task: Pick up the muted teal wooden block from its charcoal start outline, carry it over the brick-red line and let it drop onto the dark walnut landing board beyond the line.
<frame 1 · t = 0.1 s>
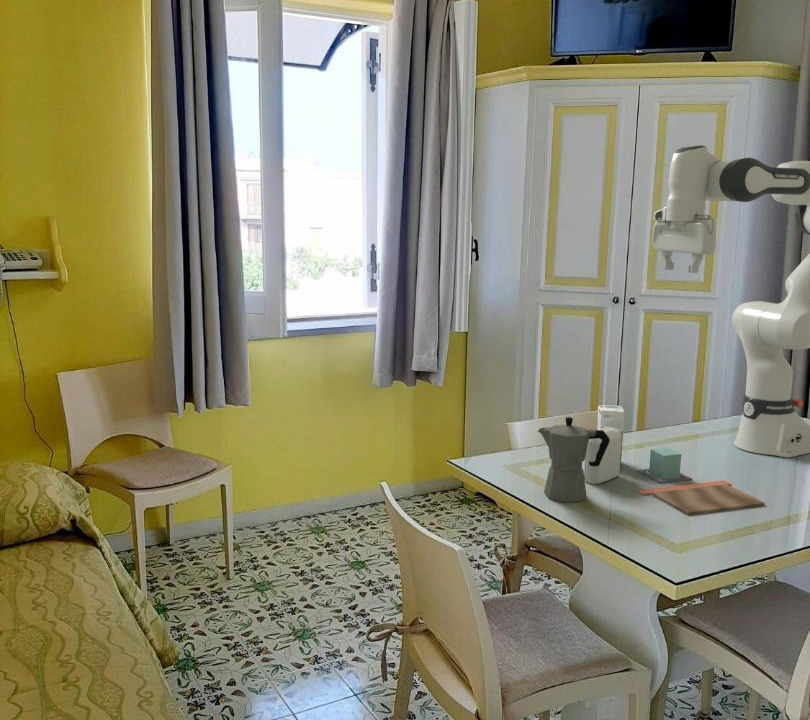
hand: (680, 271, 197), 48 cm above the table, tool pointing down, fingers open, 8 cm apart
coffeepot: (570, 496, 178), on the table
teal block: (664, 475, 192), on the table
throw line: (684, 488, 183), on the table
landing board: (707, 500, 176), on the table
photo printer: (601, 479, 189), on the table
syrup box: (607, 464, 201), on the table
start outline: (664, 475, 192), on the table
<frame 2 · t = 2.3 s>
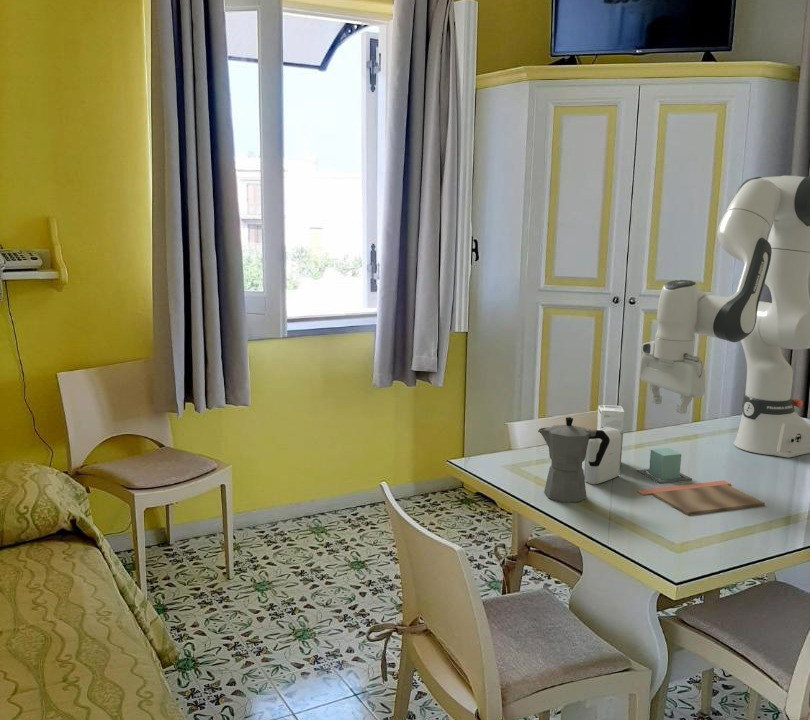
hand: (668, 408, 189), 17 cm above the table, tool pointing down, fingers open, 8 cm apart
nothing on the table moved.
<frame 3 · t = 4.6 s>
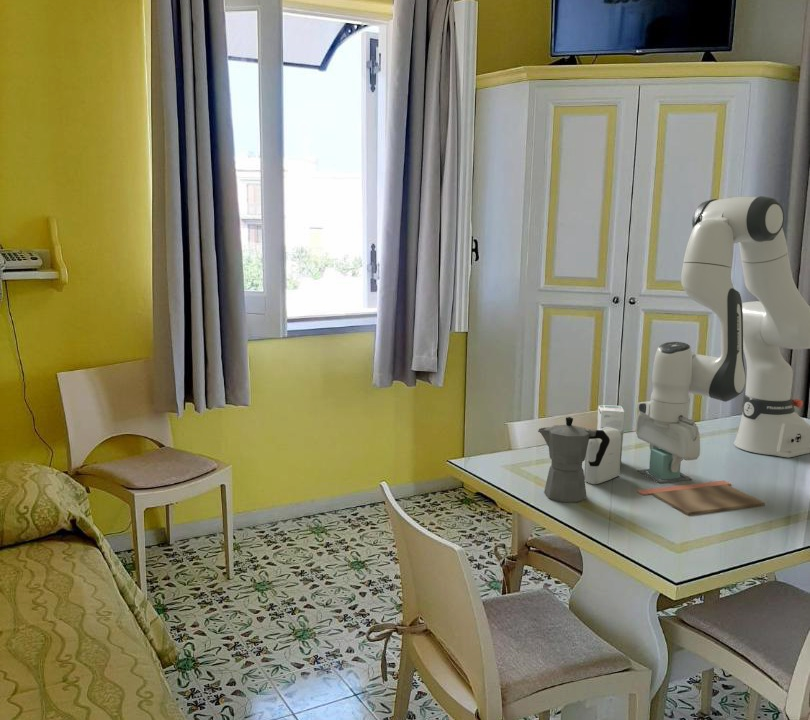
hand: (664, 467, 192), 2 cm above the table, tool pointing down, fingers closed on teal block, 5 cm apart
teal block: (664, 475, 192), on the table, touching gripper
everything else where it was.
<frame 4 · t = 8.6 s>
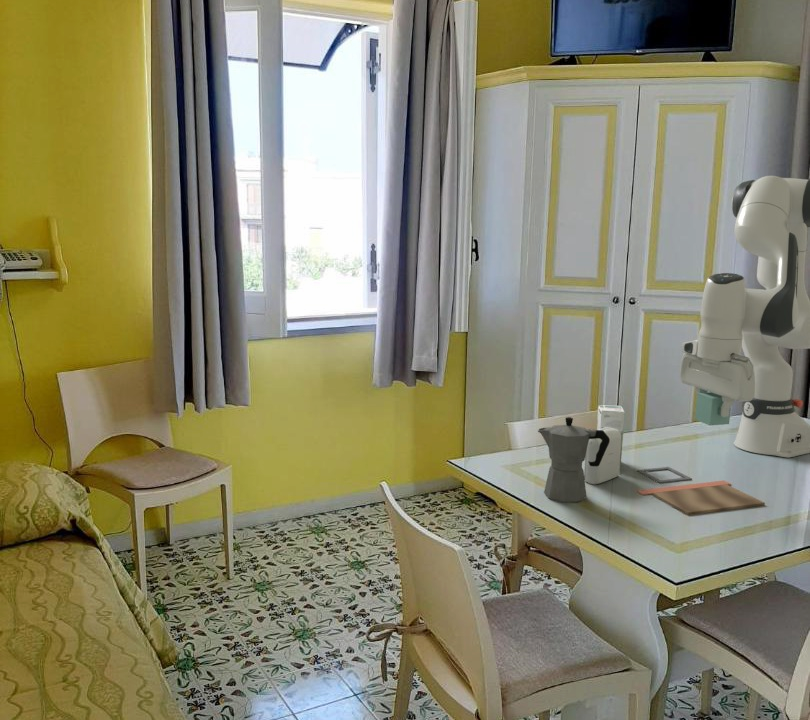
hand: (713, 412, 174), 20 cm above the table, tool pointing down, fingers closed on teal block, 5 cm apart
teal block: (711, 421, 174), point 17 cm above the table, touching gripper
everything else where it was.
when the fingers open (4 cm above the table, at t = 12.6 s): teal block drops 1 cm, resting on landing board.
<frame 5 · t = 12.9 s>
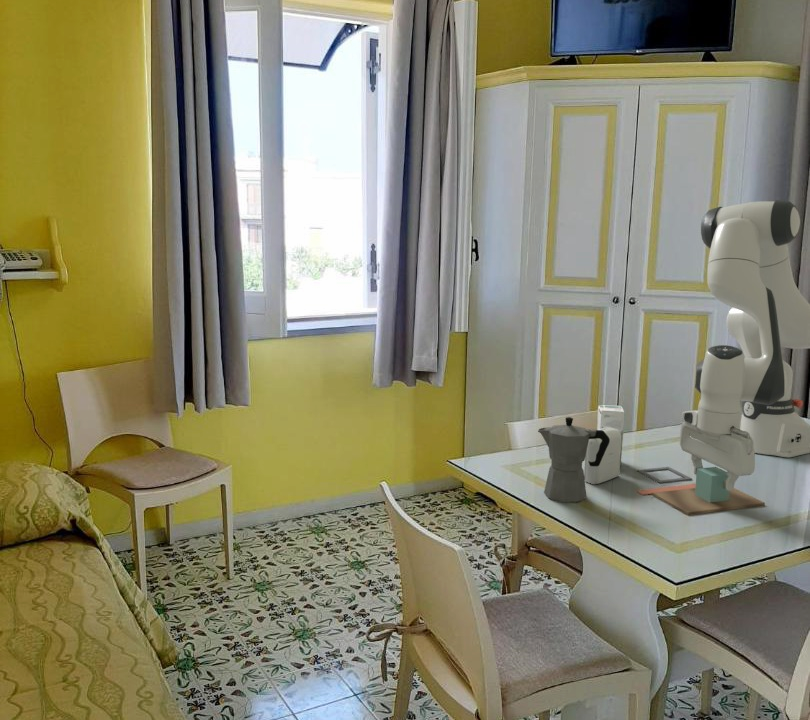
hand: (713, 482, 175), 4 cm above the table, tool pointing down, fingers open, 8 cm apart
teal block: (711, 497, 176), point 1 cm above the table, touching landing board
everything else where it was.
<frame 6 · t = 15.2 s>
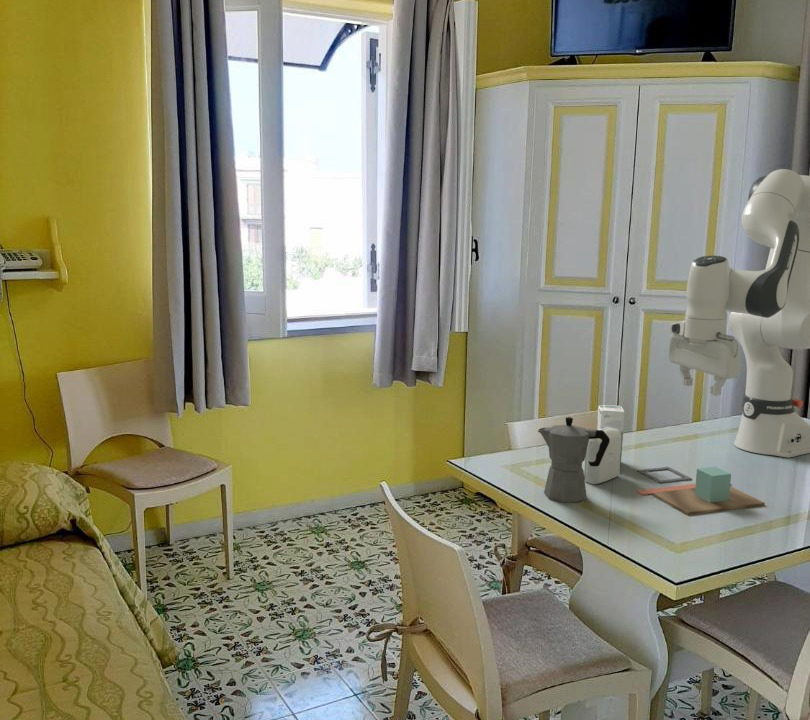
hand: (701, 389, 181), 23 cm above the table, tool pointing down, fingers open, 8 cm apart
nothing on the table moved.
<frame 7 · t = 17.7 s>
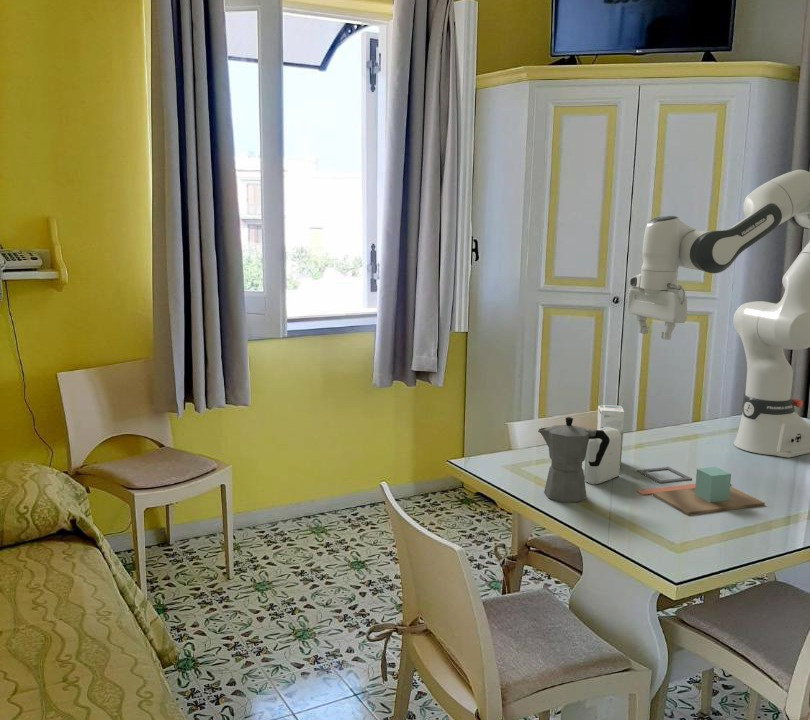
hand: (654, 336, 203), 31 cm above the table, tool pointing down, fingers open, 8 cm apart
nothing on the table moved.
at the end: teal block inside the target area (1.2 cm from its centre), point 0.6 cm above the table; teal block tilted 0°; the gripper is holding nothing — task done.
